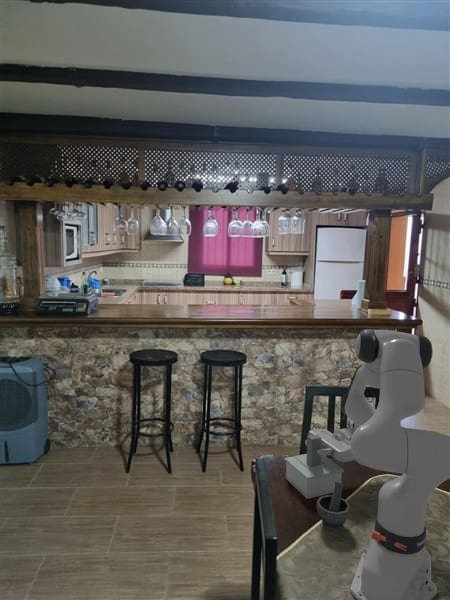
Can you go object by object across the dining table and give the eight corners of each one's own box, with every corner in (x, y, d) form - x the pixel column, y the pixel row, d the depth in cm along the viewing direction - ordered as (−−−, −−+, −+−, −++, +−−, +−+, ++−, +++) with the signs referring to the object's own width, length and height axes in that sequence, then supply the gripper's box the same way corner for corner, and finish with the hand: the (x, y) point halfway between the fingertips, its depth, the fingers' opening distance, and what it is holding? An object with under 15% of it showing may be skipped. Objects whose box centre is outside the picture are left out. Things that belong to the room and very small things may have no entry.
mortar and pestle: (342, 540, 122) (344, 500, 120) (311, 528, 127) (313, 490, 126) (353, 520, 131) (355, 483, 130) (325, 509, 136) (326, 474, 135)
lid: (318, 457, 160) (319, 426, 159) (343, 476, 147) (345, 442, 145) (284, 463, 155) (285, 431, 154) (307, 484, 141) (308, 449, 140)
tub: (317, 471, 160) (318, 454, 160) (340, 490, 147) (341, 471, 147) (285, 478, 155) (286, 460, 154) (307, 498, 142) (307, 479, 142)
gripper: (327, 423, 164) (296, 428, 159) (362, 444, 145) (329, 451, 140) (326, 438, 165) (296, 444, 159) (361, 462, 146) (328, 469, 141)
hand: (311, 447), depth 150 cm, fingers open, 6 cm apart
